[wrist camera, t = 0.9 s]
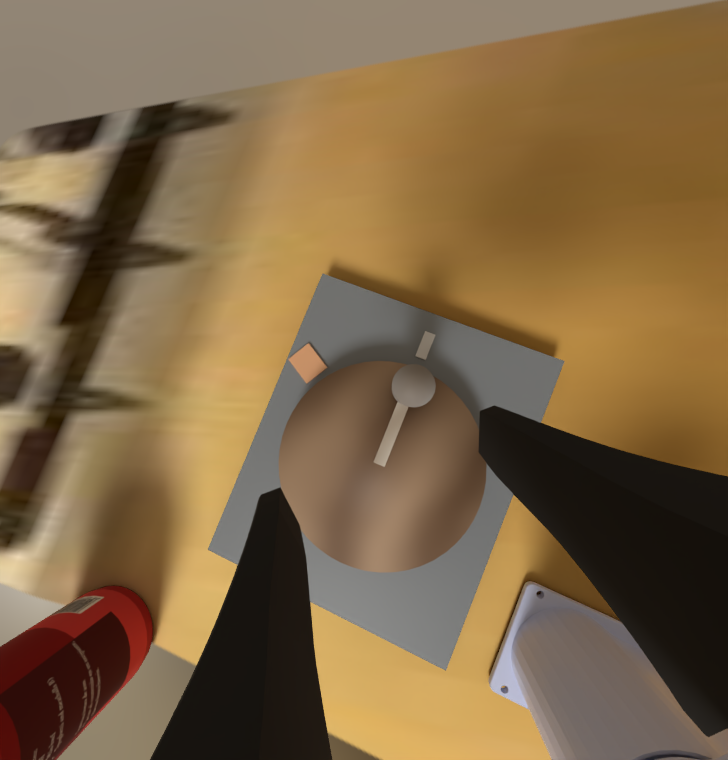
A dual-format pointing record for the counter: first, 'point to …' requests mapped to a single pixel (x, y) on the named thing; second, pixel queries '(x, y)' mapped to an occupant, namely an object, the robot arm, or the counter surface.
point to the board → (477, 391)
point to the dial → (382, 466)
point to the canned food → (69, 671)
